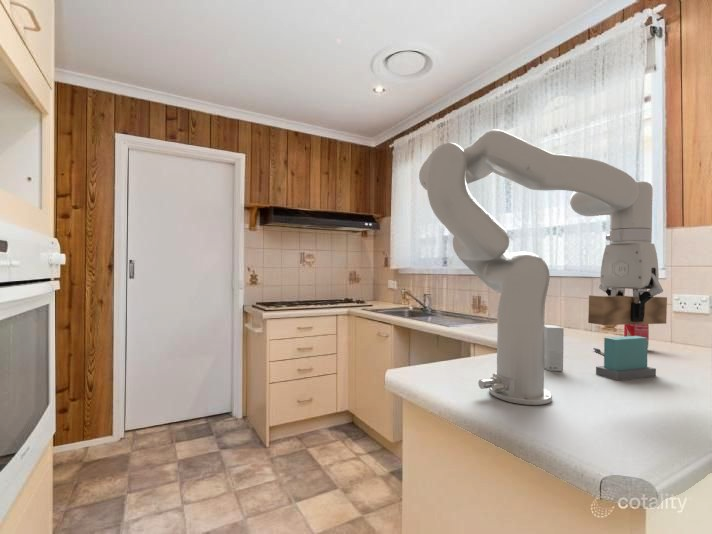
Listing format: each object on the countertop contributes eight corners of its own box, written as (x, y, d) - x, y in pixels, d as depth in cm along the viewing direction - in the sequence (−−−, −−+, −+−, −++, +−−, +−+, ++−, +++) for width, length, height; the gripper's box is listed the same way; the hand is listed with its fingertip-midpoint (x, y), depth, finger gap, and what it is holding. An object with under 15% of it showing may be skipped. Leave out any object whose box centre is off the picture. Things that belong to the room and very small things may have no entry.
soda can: (627, 346, 138) (627, 314, 138) (650, 349, 132) (651, 316, 132) (621, 348, 133) (621, 315, 133) (645, 352, 128) (645, 317, 128)
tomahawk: (641, 370, 108) (642, 366, 108) (615, 366, 109) (616, 363, 109) (611, 353, 128) (611, 350, 128) (590, 350, 130) (590, 347, 130)
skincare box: (563, 371, 101) (564, 328, 101) (547, 370, 102) (547, 327, 102) (555, 366, 107) (555, 324, 107) (539, 365, 108) (540, 324, 108)
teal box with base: (618, 380, 94) (618, 341, 94) (596, 374, 99) (596, 336, 99) (655, 376, 98) (656, 338, 98) (632, 370, 104) (632, 334, 104)
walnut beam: (602, 325, 78) (602, 296, 78) (588, 322, 81) (589, 295, 81) (666, 323, 84) (666, 297, 84) (651, 321, 87) (651, 296, 87)
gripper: (584, 239, 89) (582, 315, 89) (658, 234, 73) (656, 326, 73) (606, 241, 91) (605, 315, 91) (683, 236, 76) (681, 325, 76)
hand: (628, 319), depth 82 cm, fingers closed on walnut beam, 3 cm apart
